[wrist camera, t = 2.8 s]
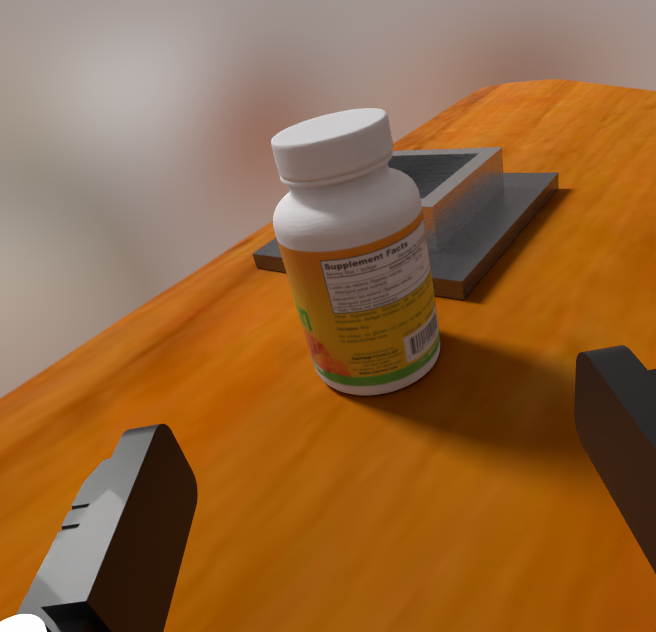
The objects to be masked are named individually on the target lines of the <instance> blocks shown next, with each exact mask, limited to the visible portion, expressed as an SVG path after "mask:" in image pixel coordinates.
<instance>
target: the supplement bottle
mask: <svg viewBox="0 0 656 632" xmlns="http://www.w3.org/2000/svg"><path fill="white" fill-rule="evenodd" d="M271 145H272V149H273V154H274V158H275V161H276V165H277V169H278V172H279V174H280V180H281V181H282V183H284V184H285V185H288V186H289V188H290V192H289V193H288V194H286V195H285V196H284V197H283V199H282V200H281V201H280V202H279V204H278V205H277V207H276V210H275V212H274V217H273V226H274V231H275V234H276V238H277V242H278V246H279V249H280V252H281V256H282V259H283V262H284V266H285V269H286V272H287V276H288V279H289V282H290V286H291V289H292V293H293V297H294V300H295V303H296V307H297V310H298V313H299V317H300V320H301V323H302V327H303V330H304V333H305V336H306V340H307V343H308V346H309V350H310V353H311V357H312V360H313V363H314V366H315V369H316V371H317V373H318V375H319V376H320V378H321V379H322V380H323V381H324V382H325V383H326V384H328V385H329V386H331V387H332V388H334V389H336V390H338V391H341V392H344V393H348V394H353V395H363V396H368V395H379V394H384V393H389V392H393V391H396V390H399V389H401V388H404V387H406V386H408V385H410V384H412V383H414V382H415V381H417V380H418V379H420V378H421V377H423V376H424V375H425V374H426V373H427V372H428V371H429V370H430V369H431V368H432V367H433V365H434V364H435V362H436V360H437V358H438V356H439V352H440V336H439V326H438V318H437V311H436V304H435V297H434V290H433V282H432V275H431V268H430V260H429V253H428V246H427V238H426V231H425V224H424V216H423V209H422V204H421V199H420V194H419V190H418V188H417V186H416V184H415V182H414V181H413V180H412V179H411V178H410V177H409V176H408V175H407V174H405V173H403V172H401V171H399V170H396V169H393V168H389V166H388V161H389V160H390V159H391V158H392V156H393V150H392V148H393V141H392V137H391V131H390V126H389V120H388V116H387V113H386V112H385V111H384V110H381V109H375V108H364V109H353V110H347V111H342V112H336V113H332V114H327V115H323V116H320V117H316V118H313V119H310V120H307V121H304V122H301V123H299V124H296V125H294V126H291V127H289V128H287V129H285V130H283V131H281V132H279V133H278V134H277V135H275V136H274V137H273V138H272V140H271Z"/></svg>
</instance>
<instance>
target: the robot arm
mask: <svg viewBox="0 0 656 632" xmlns="http://www.w3.org/2000/svg"><path fill="white" fill-rule="evenodd" d="M575 422H576V427H577V431H578V435H579V438H580V440H581V443H582V445H583V447H584V449H585V451H586V452H587V454H588V456H589V458H590V459H591V461H592V463H593V465H594V466H595V468H596V470H597V472H598V473H599V475H600V477H601V479H602V480H603V482H604V484H605V486H606V487H607V489H608V491H609V493H610V494H611V496H612V498H613V500H614V501H615V503H616V505H617V507H618V508H619V510H620V512H621V514H622V516H623V517H624V519H625V521H626V523H627V524H628V526H629V528H630V530H631V531H632V533H633V535H634V537H635V538H636V540H637V542H638V544H639V545H640V547H641V549H642V551H643V552H644V554H645V556H646V558H647V559H648V561H649V563H650V565H651V566H652V568H653V570H654V572H655V573H656V369H653V370H647V369H646V368H645V367H644V365H643V364H642V363H641V362H640V361H639V360H638V358H637V357H636V356H635V355H634V354H633V353H632V351H631V350H630V349H629V348H627V347H626V346H624V345H621V346H615V347H609V348H603V349H598V350H592V351H586V352H581V353H579V354H578V356H577V360H576V384H575ZM196 504H197V484H196V479H195V476H194V473H193V471H192V469H191V467H190V466H189V464H188V462H187V460H186V458H185V456H184V454H183V452H182V450H181V448H180V446H179V444H178V442H177V441H176V439H175V437H174V435H173V433H172V431H171V429H170V428H169V427H168V426H167V425H166V424H158V425H152V426H147V427H141V428H135V429H129V430H127V431H125V432H124V433H123V435H122V436H121V438H120V440H119V443H118V445H117V447H116V449H115V451H114V453H113V455H112V457H111V459H106V460H103V461H102V463H101V464H100V465H99V466H98V467H97V468H96V469H95V470H94V471H93V473H92V474H91V475H90V476H89V477H88V478H87V479H86V480H85V481H84V483H83V485H82V487H81V489H80V491H79V493H78V495H77V497H76V499H75V501H74V503H73V504H72V511H69V512H68V514H67V516H66V518H65V520H64V522H63V524H62V526H61V527H62V531H59V532H58V534H57V536H56V538H55V540H54V542H53V544H52V546H51V548H50V550H49V552H48V554H47V556H46V558H45V560H44V562H43V563H42V565H41V567H40V569H39V571H38V573H37V575H36V577H35V579H34V581H33V583H32V585H31V587H30V589H29V591H28V593H27V595H26V597H25V599H24V601H23V603H22V605H21V607H20V609H19V610H18V612H17V614H16V616H13V617H10V618H8V619H6V620H3V621H1V622H0V632H163V631H164V627H165V623H166V619H167V615H168V612H169V608H170V604H171V600H172V596H173V593H174V589H175V585H176V581H177V577H178V574H179V570H180V566H181V562H182V558H183V554H184V551H185V547H186V543H187V539H188V535H189V532H190V528H191V524H192V520H193V516H194V513H195V509H196Z"/></svg>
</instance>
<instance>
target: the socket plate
mask: <svg viewBox="0 0 656 632" xmlns="http://www.w3.org/2000/svg"><path fill="white" fill-rule="evenodd" d="M388 166H389V168H393V169H396V170H399V171H401V172H403V173H405V174H407V175H408V176H409V177H410V178H411V179H412V180H413V181H414V182H415V184H416V186H417V188H418V190H419V194H420V199H421V204H422V209H423V216H424V224H425V231H426V238H427V246H428V253H429V260H430V268H431V275H432V282H433V290H434V296H441V297H447V298H454V299H460V300H464V299H465V298H466V297H467V296H468V295H469V293H470V292H471V291H472V290H473V289H474V288H475V286H476V285H477V284H478V283H479V282H480V280H481V279H482V278H483V277H484V276H485V274H486V273H487V272H488V271H489V270H490V269H491V267H492V266H493V265H494V264H495V263H496V261H497V260H498V259H499V258H500V257H501V255H502V254H503V253H504V252H505V251H506V250H507V248H508V247H509V246H510V245H511V244H512V242H513V241H514V240H515V239H516V238H517V236H518V235H519V234H520V233H521V232H522V231H523V229H524V228H525V227H526V226H527V225H528V223H529V222H530V221H531V220H532V219H533V217H534V216H535V215H536V214H537V213H538V211H539V210H540V209H541V208H542V207H543V206H544V204H545V203H546V202H547V201H548V200H549V198H550V197H551V196H552V195H553V194H554V192H555V191H556V190H557V189H558V173H503V161H502V147H496V148H467V149H438V150H409V151H393V156H392V158H391V159H390V160H389V161H388ZM253 257H254V260H255V263H256V266H257V268H261V269H267V270H274V271H280V272H286V269H285V266H284V262H283V259H282V256H281V252H280V249H279V246H278V242H277V238H275V239H274V240H272V241H271V242H269V243H268V244H266V245H265V246H263V247H262V248H260V249H259V250H257V251H256V252H254V253H253ZM286 273H287V272H286Z"/></svg>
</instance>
